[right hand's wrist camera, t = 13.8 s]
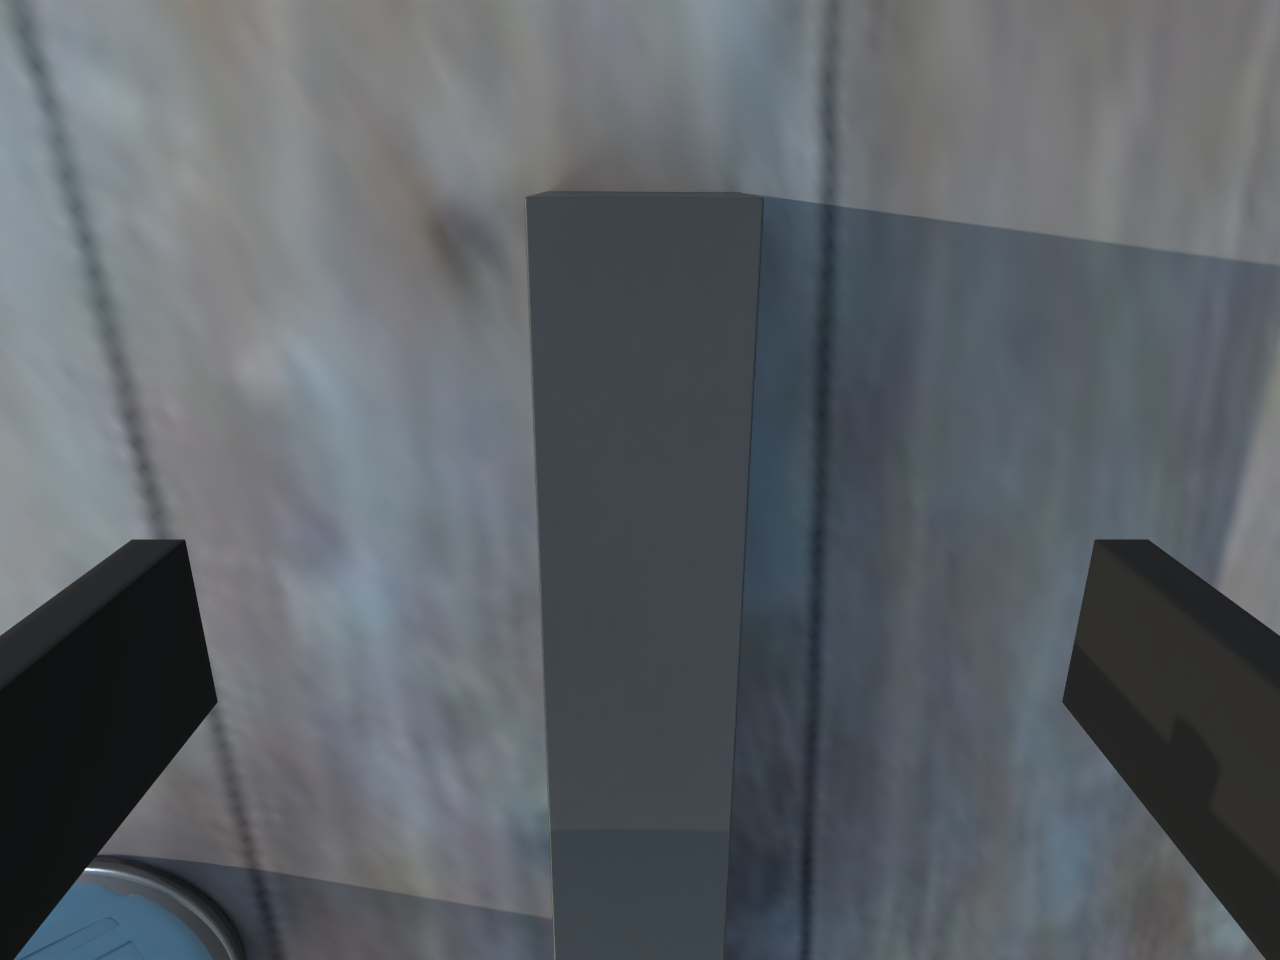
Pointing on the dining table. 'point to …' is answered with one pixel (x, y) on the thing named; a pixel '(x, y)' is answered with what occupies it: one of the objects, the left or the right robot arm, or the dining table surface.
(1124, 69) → the dining table surface
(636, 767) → the wide beam
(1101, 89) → the dining table surface
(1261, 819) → the right robot arm
